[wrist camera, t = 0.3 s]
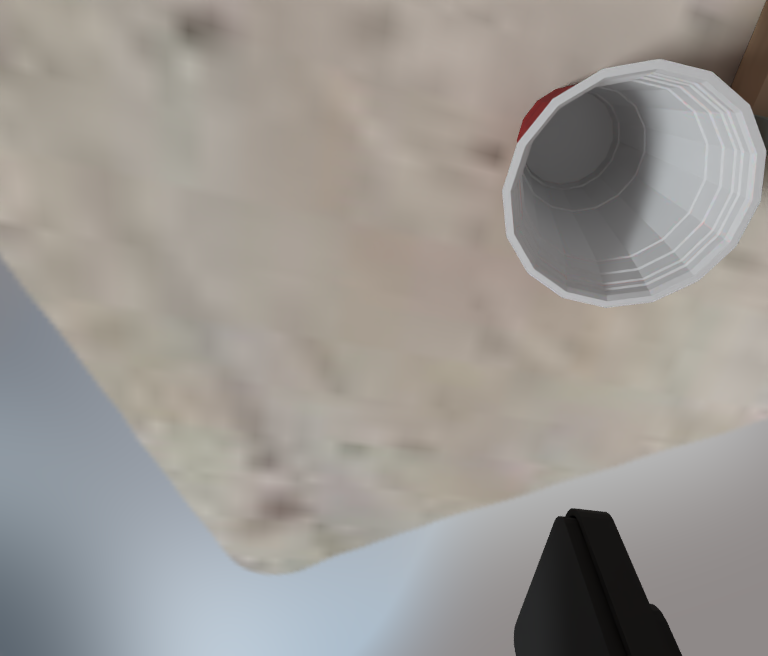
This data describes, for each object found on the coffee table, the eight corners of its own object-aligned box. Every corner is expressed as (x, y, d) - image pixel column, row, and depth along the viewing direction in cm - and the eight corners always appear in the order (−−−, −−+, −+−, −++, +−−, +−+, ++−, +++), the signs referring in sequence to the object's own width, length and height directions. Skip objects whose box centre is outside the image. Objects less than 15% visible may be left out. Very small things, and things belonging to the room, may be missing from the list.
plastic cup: (445, 84, 36) (471, 123, 25) (636, 5, 34) (751, 12, 23) (500, 251, 40) (541, 343, 30) (670, 190, 39) (778, 266, 28)
